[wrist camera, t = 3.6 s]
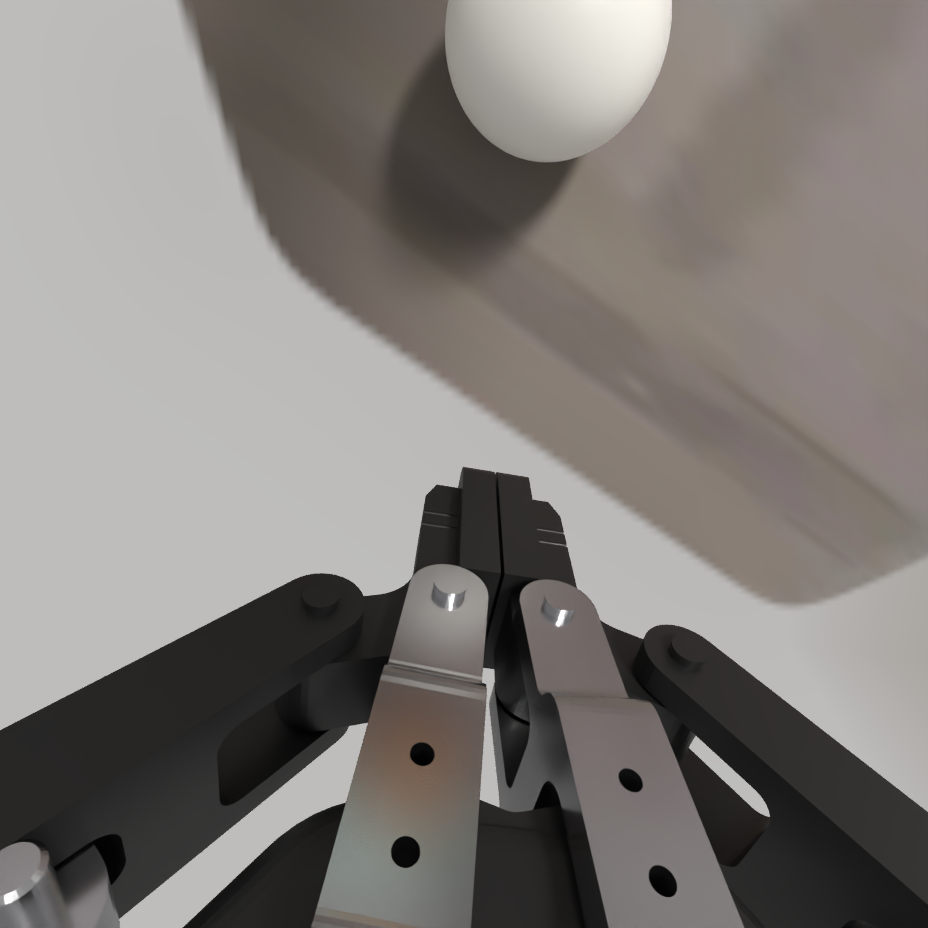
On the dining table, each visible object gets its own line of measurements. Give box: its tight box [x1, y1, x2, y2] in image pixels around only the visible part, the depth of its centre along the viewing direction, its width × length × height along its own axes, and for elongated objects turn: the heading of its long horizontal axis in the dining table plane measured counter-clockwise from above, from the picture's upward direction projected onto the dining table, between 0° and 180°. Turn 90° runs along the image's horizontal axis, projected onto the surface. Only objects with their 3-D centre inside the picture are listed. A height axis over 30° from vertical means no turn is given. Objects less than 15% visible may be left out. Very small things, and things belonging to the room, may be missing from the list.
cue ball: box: [445, 0, 672, 162], centre depth 14 cm, size 6×6×6 cm
